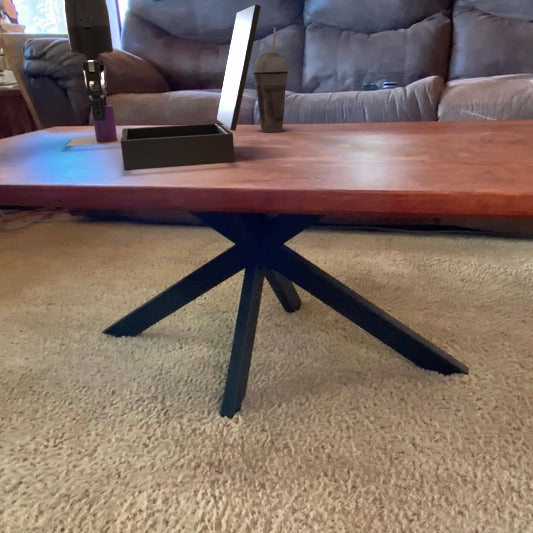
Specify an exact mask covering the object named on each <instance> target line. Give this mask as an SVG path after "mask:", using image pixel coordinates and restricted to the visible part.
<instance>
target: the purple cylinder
mask: <svg viewBox="0 0 533 533" xmlns="http://www.w3.org/2000/svg"><path fill="white" fill-rule="evenodd" d="M104 107H105V114H106V119H105V120H99V121H96V120H94V119H93V118H92V122H93V128H94V134H95V137H96V141H97V142H112V141H116V140H118V139H117V135H118V132H117V126H116V119H115V118H116V117H115V111H114V106H113V105H112V104H107V105H104ZM90 108H91V110H92V106H91V107H90ZM91 115H92V116H93V112H92V111H91Z"/></svg>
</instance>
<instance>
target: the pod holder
mask: <svg viewBox="0 0 533 533" xmlns="http://www.w3.org/2000/svg"><path fill="white" fill-rule="evenodd" d="M121 135H122V136H121V142H120V147H121V154H122V162H123V169H124V171H135V170H148V169H162V168H163V169H164V168H176V167H187V166H188V167H189V166H200V165H216V164H226V163H227V164H228V163H235V146H234V145H235V144H234V134H233V133H232V132H231V130H229V129H228V128H227V127H226V126H224V125H223V124H222V123H221V122H213V123H197V124H196V123H195V124H179V125H176V124H175V125H162V126H161V125H160V126H146V127H143V126H142V127H124V128H122V130H121Z"/></svg>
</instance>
